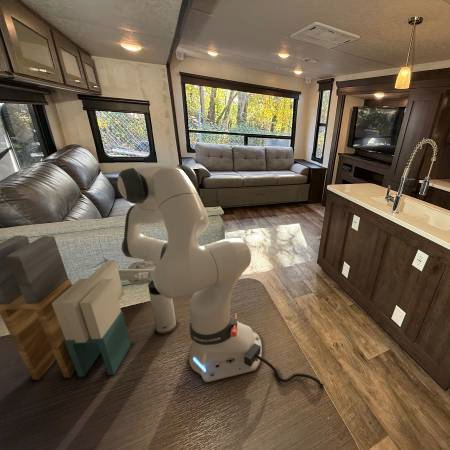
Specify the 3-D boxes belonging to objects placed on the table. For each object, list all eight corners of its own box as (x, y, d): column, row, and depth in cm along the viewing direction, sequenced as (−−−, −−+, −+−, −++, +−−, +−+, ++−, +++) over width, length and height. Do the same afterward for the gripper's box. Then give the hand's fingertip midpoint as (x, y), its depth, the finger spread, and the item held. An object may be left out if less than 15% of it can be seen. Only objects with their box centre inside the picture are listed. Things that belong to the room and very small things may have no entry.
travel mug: (169, 336, 84) (161, 288, 76) (151, 331, 85) (142, 284, 77) (180, 322, 89) (174, 277, 82) (164, 318, 90) (157, 273, 83)
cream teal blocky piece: (130, 345, 79) (114, 278, 69) (113, 374, 70) (91, 302, 60) (99, 346, 78) (78, 278, 68) (78, 376, 69) (49, 303, 59)
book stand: (92, 346, 78) (55, 236, 62) (70, 377, 69) (20, 256, 53) (60, 348, 76) (14, 235, 61) (32, 379, 67) (-30, 256, 52)
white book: (123, 294, 81) (115, 260, 76) (86, 342, 63) (72, 302, 58) (115, 294, 80) (107, 260, 75) (75, 342, 63) (60, 302, 58)
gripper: (111, 264, 93) (86, 266, 80) (169, 264, 97) (154, 266, 83) (109, 281, 93) (84, 286, 79) (168, 280, 96) (153, 285, 82)
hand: (121, 276), depth 81 cm, fingers open, 8 cm apart
